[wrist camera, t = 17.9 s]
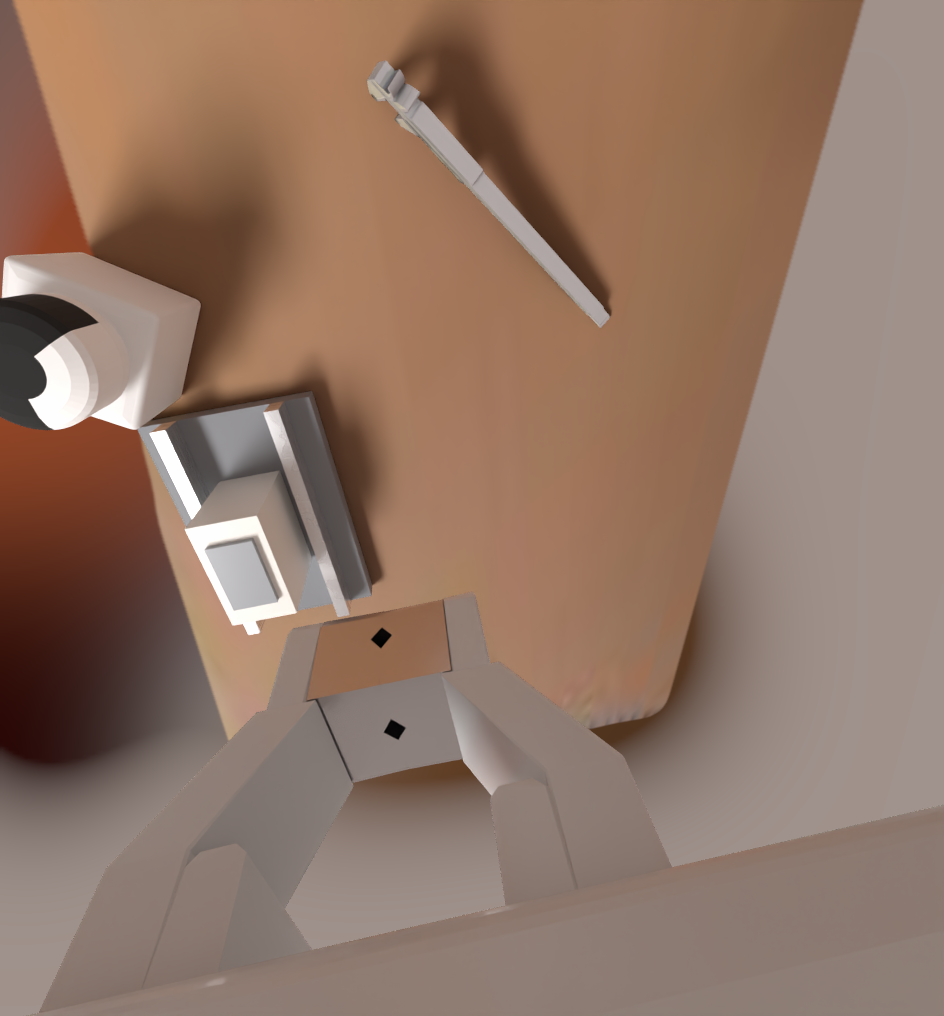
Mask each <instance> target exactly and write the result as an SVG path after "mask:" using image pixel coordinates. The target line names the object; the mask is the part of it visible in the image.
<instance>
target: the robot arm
mask: <svg viewBox="0 0 944 1016" xmlns="http://www.w3.org/2000/svg"><path fill="white" fill-rule="evenodd" d="M459 759H463V761H464V763H465V764H466V765H467V766H468V767H469V769H470V770H471V771H472V772H473V774H474V775H475V776H476V777H477V778H478V780H479V781H480V782H481V783H482V784H483V786H484V787H485V788H486V789H487V790H488V792H489V793H490V794H491V795H492V797H491V798H490V803H491V809H492V816H493V823H494V830H495V836H496V843H497V850H498V857H499V864H500V870H501V877H502V883H503V891H504V898H505V904H506V906H501V907H497V908H493V909H488V910H485V911H480V912H475V913H471V914H467V915H462V916H458V917H453V918H449V919H445V920H441V921H437V922H432V923H427V924H423V925H419V926H414V927H410V928H405V929H401V930H397V931H392V932H388V933H384V934H379V935H375V936H371V937H366V938H362V939H358V940H354V941H349V942H345V943H341V944H336V945H332V946H327V947H323V948H319V949H314V950H312V949H311V947H310V946H309V944H308V943H307V941H306V940H305V938H304V937H303V935H302V934H301V932H300V931H299V929H298V928H297V926H296V925H295V923H294V922H293V921H292V919H291V918H290V916H289V915H288V913H287V912H286V910H285V907H286V906H287V904H288V902H289V900H290V899H291V897H292V895H293V893H294V892H295V890H296V888H297V886H298V884H299V883H300V881H301V879H302V877H303V875H304V874H305V872H306V870H307V868H308V866H309V865H310V863H311V861H312V859H313V858H314V856H315V854H316V852H317V850H318V849H319V847H320V845H321V843H322V841H323V840H324V838H325V836H326V834H327V832H328V831H329V829H330V827H331V825H332V824H333V822H334V820H335V818H336V816H337V814H338V813H339V811H340V809H341V807H342V806H343V804H344V802H345V800H346V799H347V797H348V795H349V793H350V791H351V790H352V788H353V784H352V783H353V782H357V781H362V780H366V779H370V778H374V777H377V776H382V775H386V774H390V773H394V772H398V771H402V770H406V769H411V768H416V767H421V766H427V765H432V764H438V763H443V762H448V761H454V760H459ZM28 1016H944V805H941V806H937V807H932V808H928V809H924V810H919V811H915V812H910V813H906V814H902V815H897V816H893V817H889V818H884V819H880V820H876V821H871V822H867V823H863V824H858V825H854V826H849V827H846V828H841V829H836V830H832V831H828V832H824V833H819V834H815V835H811V836H806V837H802V838H797V839H793V840H789V841H785V842H780V843H776V844H771V845H767V846H763V847H759V848H754V849H750V850H745V851H741V852H737V853H732V854H728V855H724V856H719V857H715V858H711V859H706V860H702V861H698V862H694V863H689V864H685V865H680V866H676V867H672V866H671V864H670V862H669V859H668V857H667V855H666V853H665V850H664V848H663V846H662V843H661V841H660V839H659V836H658V834H657V832H656V830H655V827H654V825H653V823H652V820H651V818H650V816H649V814H648V811H647V809H646V807H645V804H644V802H643V800H642V798H641V795H640V793H639V791H638V788H637V786H636V784H635V781H634V779H633V777H632V775H631V772H630V770H629V768H628V766H627V763H626V761H625V759H624V756H623V755H621V754H620V753H619V752H617V751H616V750H615V749H613V748H612V747H611V746H610V745H608V744H607V743H606V742H604V741H603V740H602V739H600V738H599V737H598V736H596V735H595V734H594V733H593V732H591V731H590V730H589V729H587V728H586V727H585V726H583V725H582V724H581V723H580V722H578V721H577V720H576V719H574V718H573V717H572V716H570V715H569V714H568V713H566V712H565V711H564V710H562V709H561V708H560V707H559V706H557V705H556V704H555V703H553V702H552V701H551V700H549V699H548V698H547V697H545V696H544V695H543V694H542V693H540V692H539V691H538V690H536V689H535V688H534V687H532V686H531V685H530V684H528V683H527V682H526V681H524V680H523V679H522V678H521V677H519V676H518V675H517V674H515V673H514V672H513V671H511V670H510V669H509V668H507V667H506V666H505V665H504V664H502V663H501V662H495V663H490V660H489V656H488V651H487V646H486V642H485V637H484V633H483V628H482V623H481V619H480V614H479V610H478V605H477V600H476V596H475V594H474V593H473V592H469V593H465V594H460V595H456V596H452V597H447V598H444V599H443V600H438V601H433V602H428V603H423V604H419V605H414V606H409V607H404V608H399V609H395V610H390V611H383V612H378V613H372V614H367V615H361V616H356V617H350V618H345V619H339V620H333V621H328V622H324V623H319V624H313V625H308V626H303V627H298V628H293V629H292V631H291V632H290V633H289V634H288V636H287V640H286V643H285V647H284V650H283V654H282V657H281V661H280V664H279V668H278V671H277V675H276V679H275V682H274V686H273V689H272V693H271V696H270V700H269V703H268V707H267V710H265V711H261V712H257V713H256V714H255V715H254V716H253V717H252V718H251V719H250V720H249V721H248V722H247V723H246V724H245V725H244V726H243V727H242V728H241V729H240V730H239V731H238V732H237V733H236V734H235V735H234V736H233V737H232V738H231V740H230V741H229V742H228V743H227V744H226V745H225V746H224V747H223V748H222V749H221V750H220V751H219V752H218V753H217V754H216V755H215V756H214V757H213V758H212V759H211V760H210V761H209V762H208V764H207V765H205V767H204V768H203V769H202V770H201V771H200V772H199V773H198V774H197V775H196V776H195V777H194V778H193V779H192V780H191V781H190V782H189V783H188V784H187V785H186V786H185V787H184V789H182V790H181V791H180V792H179V793H178V795H177V796H176V797H175V798H174V799H173V800H172V801H171V802H170V803H169V804H168V805H167V806H166V807H165V808H164V809H163V810H162V811H161V812H160V813H159V814H158V815H157V816H156V817H155V818H154V819H153V820H152V821H151V822H150V823H149V824H148V825H147V827H146V828H145V829H144V830H143V831H142V832H141V833H140V834H139V835H138V836H137V837H136V838H135V839H134V840H133V841H132V842H131V843H130V844H129V845H128V846H127V847H126V848H125V849H124V850H123V851H122V852H121V854H119V856H118V857H117V858H116V859H115V860H114V861H113V862H112V863H111V864H110V865H109V866H108V867H107V868H106V870H105V872H104V874H103V876H102V878H101V880H100V883H99V885H98V887H97V889H96V891H95V893H94V896H93V898H92V900H91V902H90V904H89V906H88V909H87V911H86V913H85V915H84V917H83V919H82V922H81V923H80V925H79V928H78V930H77V932H76V934H75V936H74V938H73V941H72V943H71V945H70V947H69V949H68V951H67V953H66V956H65V958H64V960H63V962H62V964H61V966H60V968H59V970H58V973H57V975H56V977H55V979H54V981H53V983H52V985H51V988H50V990H49V992H48V994H47V996H46V999H45V1001H44V1003H43V1005H42V1007H41V1009H40V1011H39V1013H37V1014H33V1015H28Z"/></svg>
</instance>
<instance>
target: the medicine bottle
mask: <svg viewBox="0 0 944 1016" xmlns="http://www.w3.org/2000/svg"><path fill="white" fill-rule="evenodd" d="M200 307H201V304H200V302H199V301H198V300H197V299H195V298H192V297H190V296H187V295H185V294H182V293H180V292H178V291H175V290H173V289H170V288H168V287H166V286H163V285H161V284H158V283H156V282H153V281H151V280H149V279H146V278H144V277H141V276H139V275H137V274H134V273H132V272H129V271H127V270H124V269H122V268H120V267H117V266H115V265H112V264H110V263H108V262H105V261H103V260H100V259H98V258H95V257H93V256H91V255H88V254H86V253H82V252H76V253H56V254H35V255H14V256H9V257H7V258H5V260H4V273H3V288H2V298H0V417H2V418H4V419H5V420H8V421H10V422H12V423H15V424H18V425H21V426H24V427H28V428H32V429H39V430H56V429H64V428H66V427H70V426H73V425H75V424H77V423H79V422H80V421H82V420H84V419H86V418H87V417H89V416H93V417H96V418H99V419H102V420H105V421H108V422H111V423H114V424H117V425H120V426H123V427H126V428H129V429H138V428H140V427H142V426H143V425H144V424H146V423H147V422H148V421H150V420H151V419H152V418H154V417H155V416H156V415H158V414H159V413H160V412H162V411H163V410H165V409H166V408H167V407H169V406H170V405H171V404H173V403H174V402H175V401H177V400H178V399H179V398H180V397H181V395H182V390H183V386H184V381H185V377H186V372H187V367H188V363H189V358H190V353H191V349H192V344H193V340H194V335H195V330H196V326H197V321H198V317H199V312H200Z"/></svg>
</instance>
